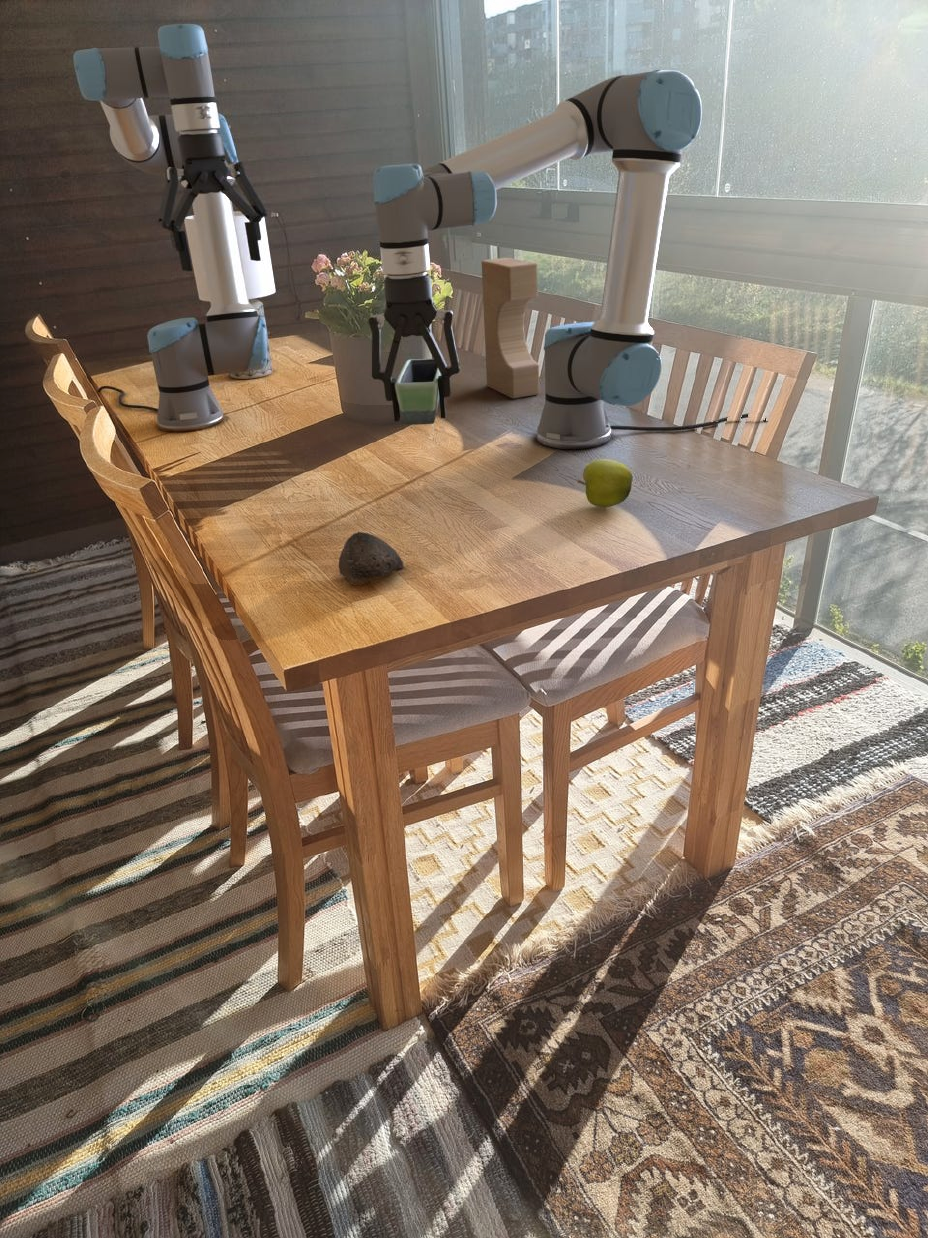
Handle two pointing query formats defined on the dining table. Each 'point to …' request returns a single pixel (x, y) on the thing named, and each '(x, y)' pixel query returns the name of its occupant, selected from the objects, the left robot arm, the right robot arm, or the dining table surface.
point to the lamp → (254, 273)
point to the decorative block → (509, 325)
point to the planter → (418, 391)
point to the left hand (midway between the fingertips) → (222, 265)
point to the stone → (367, 559)
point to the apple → (606, 482)
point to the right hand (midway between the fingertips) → (420, 417)
